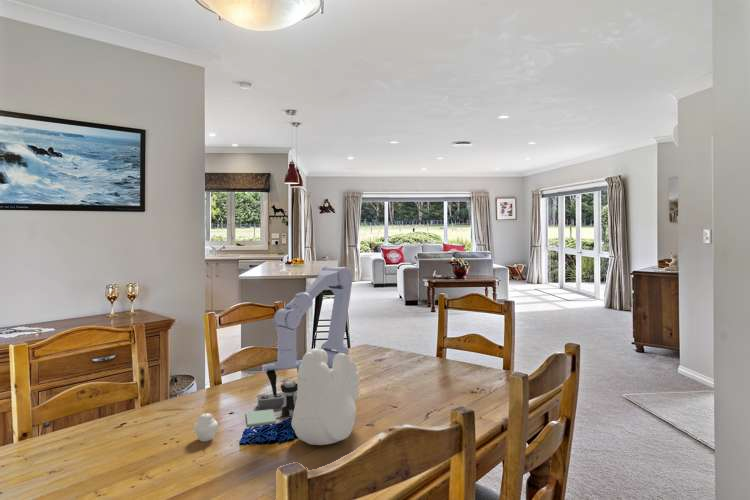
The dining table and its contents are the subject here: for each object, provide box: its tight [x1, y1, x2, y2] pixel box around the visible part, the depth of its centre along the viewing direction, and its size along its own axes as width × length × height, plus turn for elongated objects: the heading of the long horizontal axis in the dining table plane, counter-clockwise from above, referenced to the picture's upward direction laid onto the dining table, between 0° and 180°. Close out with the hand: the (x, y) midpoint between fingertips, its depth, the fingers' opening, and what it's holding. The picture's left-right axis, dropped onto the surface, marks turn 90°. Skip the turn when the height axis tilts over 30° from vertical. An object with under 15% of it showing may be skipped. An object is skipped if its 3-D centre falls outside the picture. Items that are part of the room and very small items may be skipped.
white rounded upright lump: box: [291, 347, 360, 446], centre depth 126 cm, size 25×16×25 cm, turn 136°
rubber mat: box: [245, 408, 277, 427], centre depth 139 cm, size 8×10×1 cm
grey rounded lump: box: [193, 412, 219, 442], centre depth 125 cm, size 6×6×7 cm
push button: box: [276, 379, 298, 418], centre depth 141 cm, size 7×5×10 cm
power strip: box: [257, 391, 297, 411], centre depth 151 cm, size 18×5×4 cm, turn 108°
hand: (287, 392), depth 141 cm, fingers open, 7 cm apart
